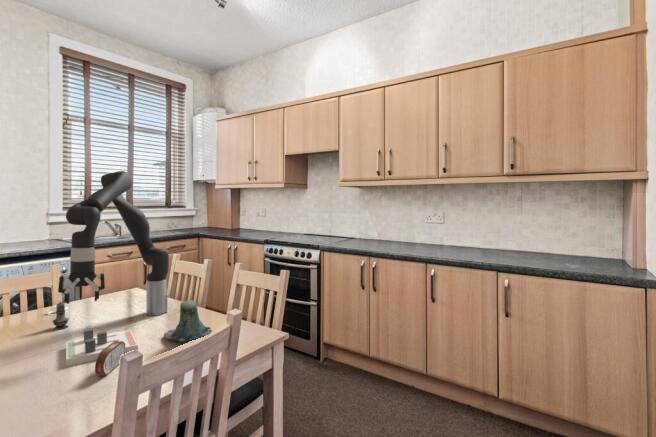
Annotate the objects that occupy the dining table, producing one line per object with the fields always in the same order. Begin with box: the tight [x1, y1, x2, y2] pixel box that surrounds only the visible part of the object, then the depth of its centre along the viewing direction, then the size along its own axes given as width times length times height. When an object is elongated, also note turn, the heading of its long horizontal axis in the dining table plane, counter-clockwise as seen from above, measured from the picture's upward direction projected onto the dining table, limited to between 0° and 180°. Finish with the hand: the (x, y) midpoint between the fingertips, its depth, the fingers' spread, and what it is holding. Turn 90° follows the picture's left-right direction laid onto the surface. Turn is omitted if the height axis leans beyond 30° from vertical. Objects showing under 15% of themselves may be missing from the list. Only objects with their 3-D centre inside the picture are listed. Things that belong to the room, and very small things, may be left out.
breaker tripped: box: [96, 330, 108, 345], centre depth 133 cm, size 3×2×4 cm
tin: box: [94, 341, 126, 376], centre depth 119 cm, size 15×3×8 cm, turn 5°
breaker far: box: [83, 327, 94, 342], centre depth 136 cm, size 3×2×4 cm
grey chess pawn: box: [52, 301, 70, 331], centre depth 154 cm, size 6×6×12 cm
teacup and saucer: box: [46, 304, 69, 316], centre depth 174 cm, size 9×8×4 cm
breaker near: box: [85, 338, 95, 353], centre depth 126 cm, size 3×2×4 cm
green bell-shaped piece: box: [163, 299, 213, 345], centre depth 147 cm, size 19×21×19 cm
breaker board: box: [65, 329, 139, 367], centre depth 133 cm, size 22×18×3 cm
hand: (82, 301), depth 131 cm, fingers open, 8 cm apart
